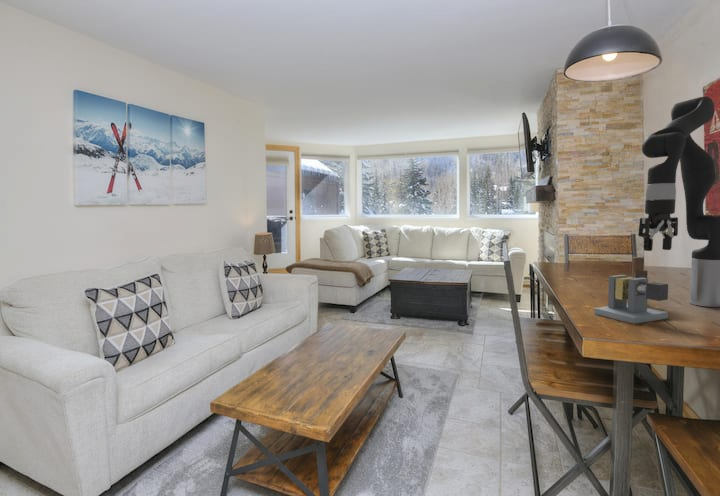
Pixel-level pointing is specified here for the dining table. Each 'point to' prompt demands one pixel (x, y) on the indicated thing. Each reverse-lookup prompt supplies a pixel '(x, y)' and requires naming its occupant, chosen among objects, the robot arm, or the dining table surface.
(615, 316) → the bracket
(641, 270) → the wooden block
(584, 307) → the dining table surface
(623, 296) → the spacer
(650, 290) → the shaft
